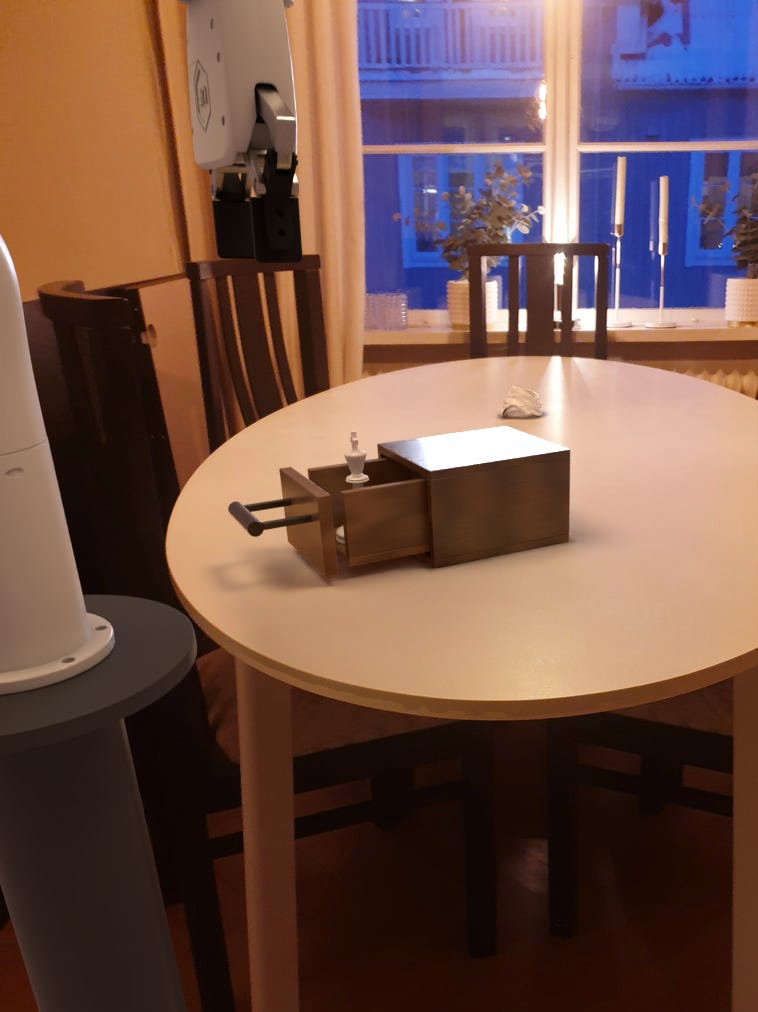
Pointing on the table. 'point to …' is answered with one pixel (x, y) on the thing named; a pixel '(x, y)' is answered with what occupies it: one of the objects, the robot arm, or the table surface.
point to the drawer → (348, 514)
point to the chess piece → (353, 473)
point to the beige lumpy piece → (522, 401)
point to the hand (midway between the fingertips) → (258, 260)
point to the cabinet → (488, 491)
